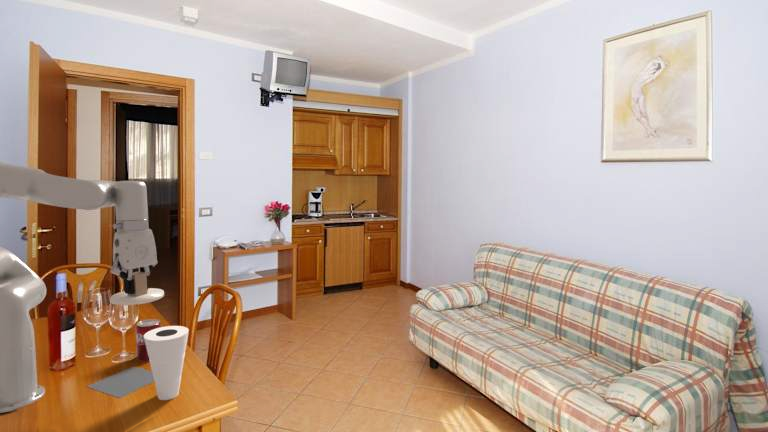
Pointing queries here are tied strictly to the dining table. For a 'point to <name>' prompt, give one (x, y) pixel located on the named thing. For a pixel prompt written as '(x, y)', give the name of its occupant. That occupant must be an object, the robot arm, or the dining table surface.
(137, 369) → the mat
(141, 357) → the soda can
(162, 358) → the cup
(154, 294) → the lid
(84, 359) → the dining table surface
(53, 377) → the dining table surface
